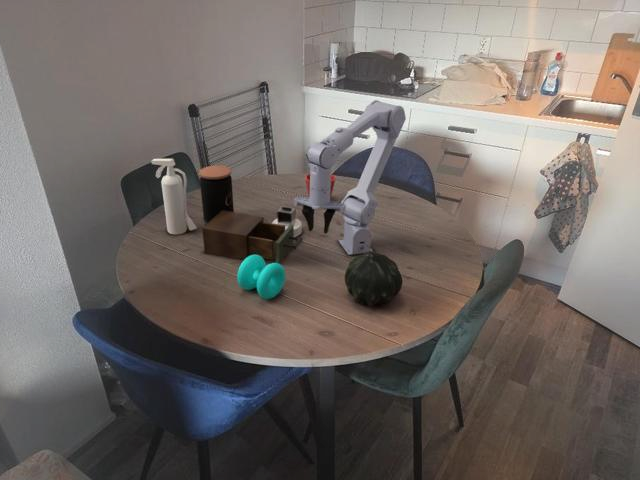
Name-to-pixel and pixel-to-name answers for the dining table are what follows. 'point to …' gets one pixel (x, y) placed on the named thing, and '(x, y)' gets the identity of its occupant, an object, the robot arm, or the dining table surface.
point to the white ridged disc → (296, 226)
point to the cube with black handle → (286, 215)
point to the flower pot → (309, 184)
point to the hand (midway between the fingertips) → (318, 230)
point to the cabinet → (229, 234)
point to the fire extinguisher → (174, 197)
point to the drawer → (272, 241)
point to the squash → (373, 278)
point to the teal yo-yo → (261, 276)
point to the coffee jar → (216, 191)
